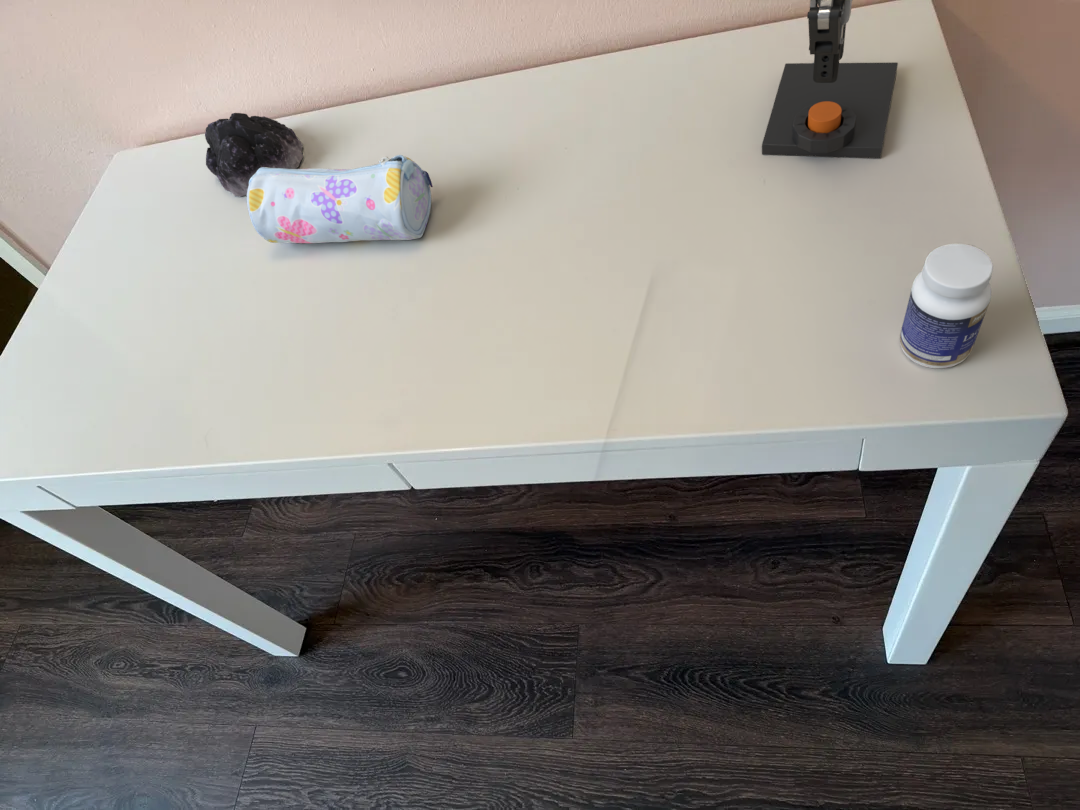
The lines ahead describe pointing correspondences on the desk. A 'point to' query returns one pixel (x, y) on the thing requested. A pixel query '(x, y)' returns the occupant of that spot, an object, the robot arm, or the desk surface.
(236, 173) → the crystal cluster
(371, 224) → the pencil case
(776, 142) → the scale
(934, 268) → the pill bottle
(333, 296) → the desk surface
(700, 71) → the desk surface
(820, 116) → the button
